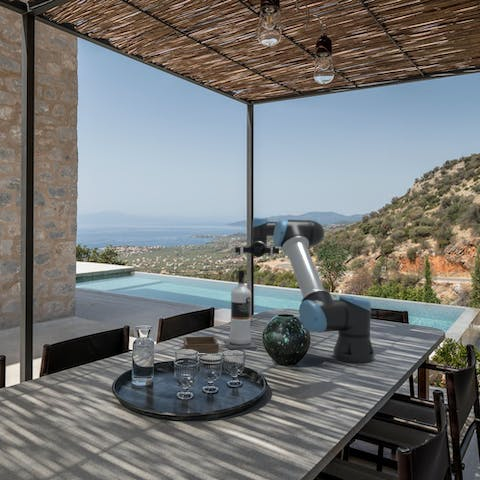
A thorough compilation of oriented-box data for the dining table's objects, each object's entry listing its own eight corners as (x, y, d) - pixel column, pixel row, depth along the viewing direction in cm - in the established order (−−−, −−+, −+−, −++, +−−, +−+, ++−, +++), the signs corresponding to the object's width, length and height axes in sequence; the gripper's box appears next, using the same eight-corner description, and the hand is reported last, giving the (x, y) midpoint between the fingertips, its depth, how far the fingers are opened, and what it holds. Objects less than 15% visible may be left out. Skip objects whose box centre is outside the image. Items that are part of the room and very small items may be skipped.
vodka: (240, 338, 198) (241, 268, 197) (255, 343, 191) (257, 270, 190) (224, 342, 191) (225, 269, 190) (239, 346, 184) (241, 271, 184)
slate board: (256, 349, 185) (256, 346, 185) (229, 349, 183) (229, 347, 183) (249, 340, 199) (249, 338, 199) (224, 341, 197) (224, 338, 197)
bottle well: (218, 354, 176) (218, 344, 176) (185, 355, 174) (185, 345, 174) (214, 346, 188) (214, 336, 188) (183, 346, 186) (183, 337, 186)
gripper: (283, 257, 226) (284, 260, 205) (233, 256, 228) (228, 259, 207) (284, 242, 226) (284, 243, 205) (233, 240, 228) (228, 242, 207)
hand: (256, 251), depth 206 cm, fingers open, 13 cm apart
